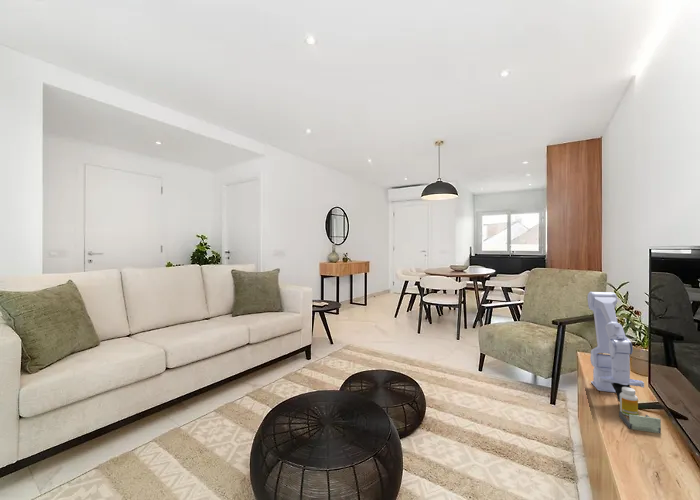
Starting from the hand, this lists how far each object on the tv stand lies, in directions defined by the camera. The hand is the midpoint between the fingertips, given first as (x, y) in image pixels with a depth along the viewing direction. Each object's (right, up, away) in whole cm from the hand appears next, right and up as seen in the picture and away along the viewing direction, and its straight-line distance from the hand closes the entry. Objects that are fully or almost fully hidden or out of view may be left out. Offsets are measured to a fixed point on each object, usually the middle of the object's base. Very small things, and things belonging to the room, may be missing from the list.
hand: (620, 401), depth 130 cm
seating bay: (-5, -2, -13) cm, 14 cm away
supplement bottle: (-2, -2, -6) cm, 7 cm away
